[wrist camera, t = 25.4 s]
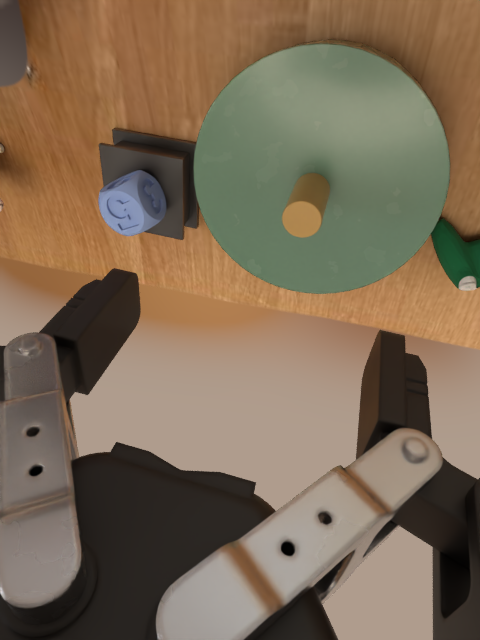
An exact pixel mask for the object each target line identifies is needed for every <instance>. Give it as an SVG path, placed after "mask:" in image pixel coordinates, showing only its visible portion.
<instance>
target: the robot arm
mask: <svg viewBox="0 0 480 640" xmlns="http://www.w3.org/2000/svg"><path fill="white" fill-rule="evenodd" d="M139 317H140V296H139V283H138V276H137V274H136V273H133V272H128V271H124V270H120V269H115V268H114V269H112V270H111V271H110V272H109V273H108V274H107V275H106V276H105V278H104V279H103V280H102V281H101V280H94V281H92V282H90V283H88V284H86V285H85V286H83V287H82V288H81V289H80V290H79V291H78V292H77V293H76V294H75V295H74V296H73V298H71V300H69V302H68V303H66V306H64V307H63V308H62V309H61V310H60V311H59V312H58V313H57V314H56V315H55V316H54V317H53V318H52V319H51V320H50V321H49V322H48V323H47V325H46V326H45V327H44V328H43V329H42V330H41V331H40V332H39V333H27V334H24V335H21V336H18V337H16V338H15V339H13V340H12V341H10V342H9V343H8V345H7V346H0V640H338V638H337V636H336V634H335V632H334V629H333V627H332V625H331V623H330V621H329V618H328V616H327V614H326V612H325V610H324V607H323V605H322V604H323V603H324V602H325V601H326V600H327V599H328V598H329V597H330V596H331V595H332V594H333V593H335V592H336V590H338V589H339V587H341V585H342V584H343V583H344V582H345V581H346V580H347V579H348V578H349V577H350V576H351V574H352V573H353V572H354V571H355V569H356V568H357V567H358V566H359V565H360V564H361V563H362V562H363V561H364V560H365V559H366V558H367V557H368V556H369V555H370V554H371V553H372V552H373V551H375V549H377V548H378V547H379V546H380V545H381V544H382V543H383V542H384V541H385V540H386V539H387V538H388V537H389V536H390V535H391V534H392V533H393V532H394V531H395V530H396V529H397V528H399V527H400V526H401V527H402V528H404V529H405V530H407V531H409V532H410V533H412V534H413V535H415V536H417V537H418V538H420V539H421V540H423V541H424V542H426V543H428V544H429V545H431V546H432V547H433V640H480V478H479V479H476V478H474V477H472V476H470V475H469V474H467V473H465V472H463V471H461V470H459V469H458V468H456V467H454V466H453V465H451V464H450V463H449V462H447V461H446V460H445V459H444V458H443V457H442V453H441V451H440V449H439V447H438V445H437V444H436V443H435V442H434V441H433V440H432V435H431V422H430V410H429V397H428V386H427V372H426V368H425V366H424V365H423V363H422V361H421V360H420V358H419V356H417V355H413V354H408V353H405V336H404V335H400V334H395V333H391V332H386V331H382V330H380V331H379V332H378V334H377V337H376V339H375V342H374V345H373V347H372V350H371V352H370V356H369V358H368V360H367V363H366V366H365V369H364V373H363V378H362V386H361V399H360V413H359V426H358V439H357V440H358V441H357V453H356V461H354V462H353V463H352V464H350V465H349V466H347V467H346V468H343V467H342V466H337V467H335V468H333V469H332V470H330V471H329V472H328V473H326V474H325V475H324V476H323V477H321V478H320V479H318V480H317V481H316V482H314V483H313V484H312V485H310V486H309V487H308V488H307V489H305V490H304V491H302V492H301V493H300V494H298V495H297V496H296V497H294V498H293V499H292V500H291V501H289V502H288V503H287V504H285V505H284V506H283V507H281V508H280V509H279V510H277V511H275V510H274V509H273V508H272V507H271V506H270V505H269V504H268V503H267V502H265V501H264V500H263V499H262V498H260V497H259V496H257V495H255V494H254V490H255V485H256V482H252V481H249V480H245V479H242V478H238V477H235V476H232V475H228V474H225V473H221V472H204V471H183V470H180V469H178V468H176V467H174V466H173V465H171V464H169V463H168V462H166V461H164V460H163V459H161V458H159V457H158V456H156V455H154V454H153V453H151V452H149V451H146V450H142V449H139V448H135V447H132V446H128V445H125V444H121V443H118V442H116V443H115V445H114V447H113V449H112V450H111V452H103V453H94V454H89V455H86V456H82V457H79V453H78V448H77V441H76V435H75V429H74V422H73V416H72V409H71V403H70V398H71V396H72V395H73V394H74V392H78V393H82V394H86V395H88V394H89V393H90V391H91V390H92V388H93V387H94V386H95V384H96V383H97V381H98V380H99V379H100V377H101V376H102V374H103V373H104V371H105V370H106V369H107V367H108V366H109V364H110V363H111V361H112V360H113V359H114V357H115V356H116V354H117V353H118V351H119V350H120V348H121V347H122V346H123V344H124V343H125V341H126V340H127V338H128V337H129V336H130V334H131V333H132V331H133V330H134V329H135V327H136V325H137V323H138V321H139Z"/></svg>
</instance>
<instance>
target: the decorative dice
mask: <svg viewBox="0 0 480 640" xmlns="http://www.w3.org/2000/svg"><path fill="white" fill-rule="evenodd" d="M99 208H100V212H101V214H102V217H103V219H104V220H105V222H106V223H107V224H108V225H109V226H110V227H111V228H112V229H113V230H114V231H116V232H118V233H120V234H122V235H125V236H133V235H136V234H139V233H142V232H144V231H146V230H148V229H150V228H152V227H153V226H155V225H156V224H158V223H159V222H160V221H161V220H162V219H163V218H164V216H165V213H166V199H165V195H164V193H163V190H162V188H161V186H160V184H159V183H158V182H157V180H156V179H155V178H154V177H153V176H151V175H150V174H148V173H146V172H144V171H142V170H138V171H134V172H132V173H129V174H127V175H124V176H122V177H120V178H118V179H116V180H114V181H113V182H111V183H109V184H108V185H106V186H105V187H103V188H102V189H101V190H100V193H99Z"/></svg>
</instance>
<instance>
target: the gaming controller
mask: <svg viewBox="0 0 480 640" xmlns="http://www.w3.org/2000/svg"><path fill="white" fill-rule="evenodd" d="M431 236H432V240H433V244H434V248H435V251H436V253H437V256H438V258H439V261H440V263H441V265H442V267H443V269H444V271H445V272H446V274H447V275H448V277H449V278H450V280H451V281H452V282H453V284H454V285H455V286H456V287H457V288H458V289H460V290H464V291H469V290H476V288H478V287H480V239H479V240H475V241H472V242H464V241H463V240H462V238H461V237H460V236H459V234H458V233H457V232H456V230H455V229H454V227H453V226H452V225H451V224H450V223H448V222H447V221H446V220H445V219H443V218H442V219H441V220H439V221H438V222H437V224H436V226H435V228H434V230H433V231H432V233H431Z"/></svg>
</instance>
